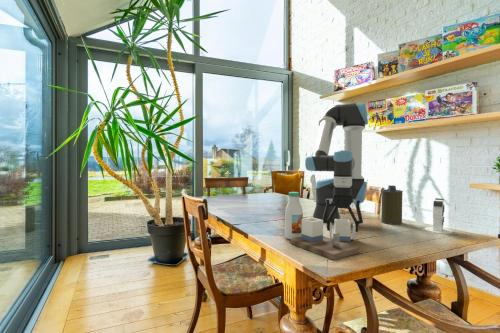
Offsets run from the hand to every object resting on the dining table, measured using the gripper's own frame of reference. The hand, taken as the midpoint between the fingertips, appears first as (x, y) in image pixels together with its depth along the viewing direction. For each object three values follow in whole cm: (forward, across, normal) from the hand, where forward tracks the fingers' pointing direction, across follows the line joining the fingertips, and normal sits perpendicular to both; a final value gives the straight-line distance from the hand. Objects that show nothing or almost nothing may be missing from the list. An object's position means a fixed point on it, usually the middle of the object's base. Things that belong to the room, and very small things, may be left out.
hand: (342, 238), depth 122 cm
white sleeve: (0, 0, 0) cm, 0 cm away
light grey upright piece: (0, +47, +24) cm, 53 cm away
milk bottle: (0, -20, -2) cm, 21 cm away
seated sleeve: (-2, -13, -10) cm, 16 cm away
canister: (0, +30, +38) cm, 48 cm away
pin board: (0, -8, -14) cm, 16 cm away
